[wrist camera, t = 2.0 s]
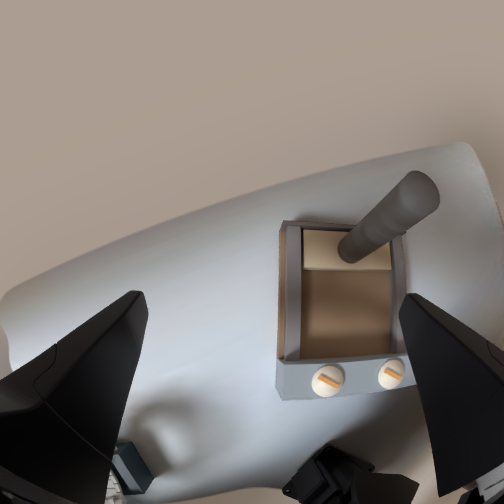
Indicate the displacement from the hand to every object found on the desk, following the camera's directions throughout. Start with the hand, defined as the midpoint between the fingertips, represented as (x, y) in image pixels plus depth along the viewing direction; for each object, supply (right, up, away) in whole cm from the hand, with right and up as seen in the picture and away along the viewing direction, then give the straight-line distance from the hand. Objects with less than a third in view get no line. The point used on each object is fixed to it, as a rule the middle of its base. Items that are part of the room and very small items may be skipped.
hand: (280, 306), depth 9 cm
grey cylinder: (+7, +2, +13) cm, 15 cm away
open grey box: (+7, -3, +13) cm, 15 cm away
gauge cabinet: (+6, -8, +12) cm, 16 cm away
